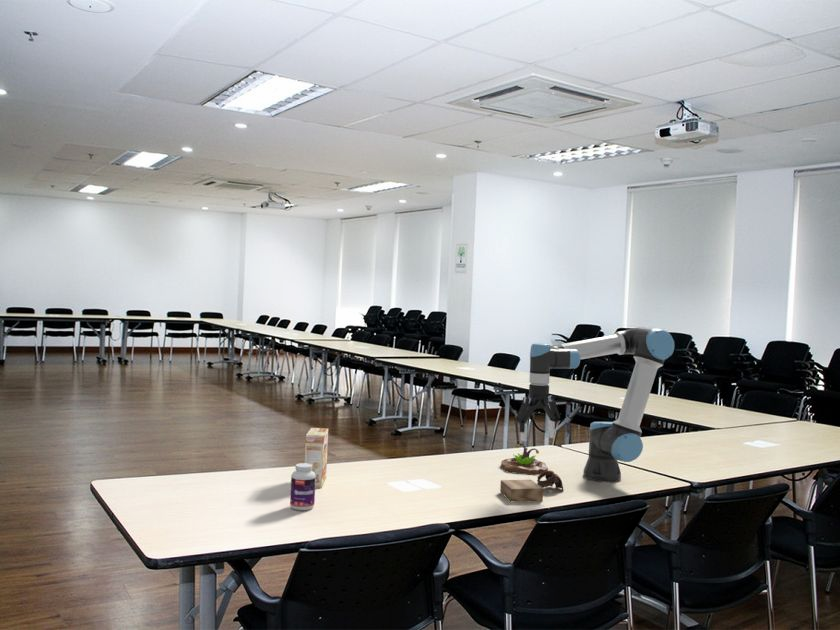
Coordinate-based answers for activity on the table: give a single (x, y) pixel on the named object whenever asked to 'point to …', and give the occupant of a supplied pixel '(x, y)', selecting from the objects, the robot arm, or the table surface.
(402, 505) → the table surface
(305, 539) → the table surface
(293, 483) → the pill bottle
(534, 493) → the walnut block
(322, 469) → the coffeecake box
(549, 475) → the dark brown figurine
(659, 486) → the table surface
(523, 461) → the plant
